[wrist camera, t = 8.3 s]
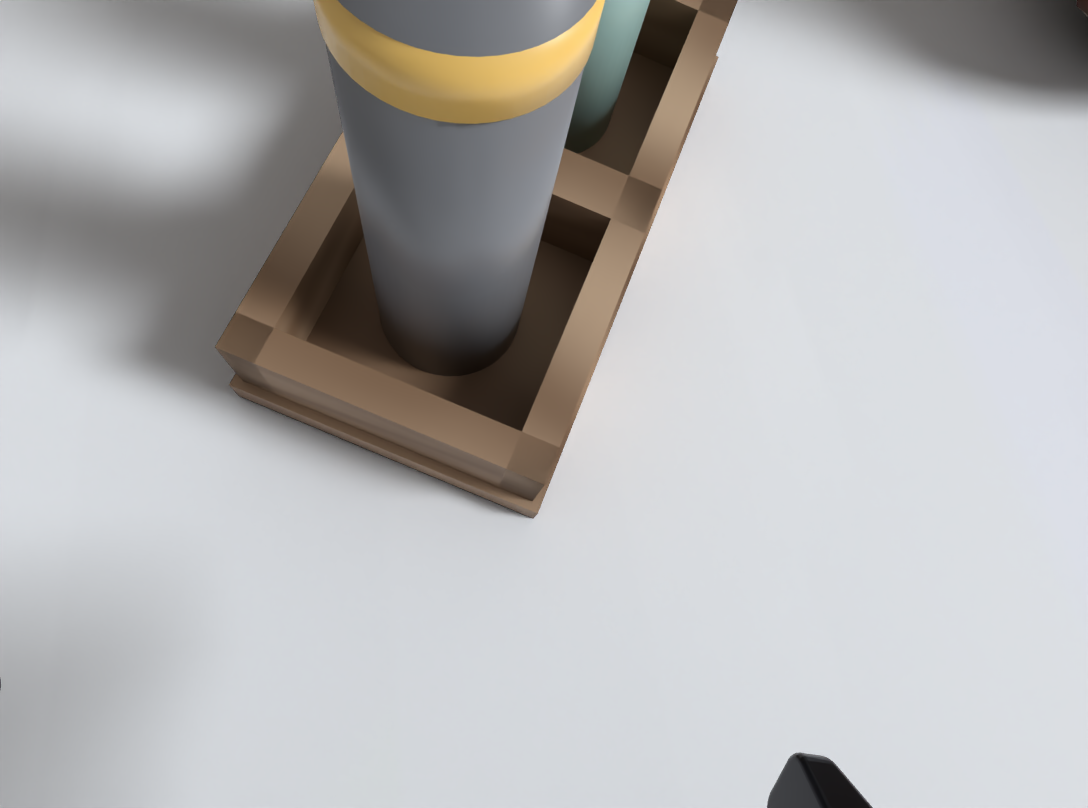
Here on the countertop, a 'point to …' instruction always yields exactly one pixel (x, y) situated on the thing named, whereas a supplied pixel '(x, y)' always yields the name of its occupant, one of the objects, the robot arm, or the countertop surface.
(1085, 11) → the butternut squash
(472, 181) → the plug charcoal
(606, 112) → the plug teal
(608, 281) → the slot rack
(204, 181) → the countertop surface
